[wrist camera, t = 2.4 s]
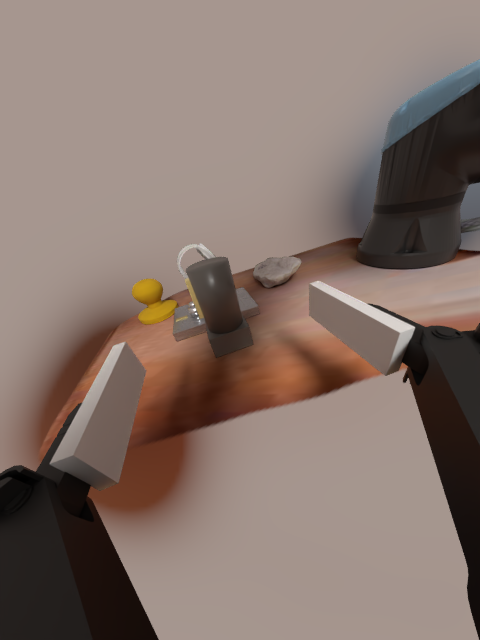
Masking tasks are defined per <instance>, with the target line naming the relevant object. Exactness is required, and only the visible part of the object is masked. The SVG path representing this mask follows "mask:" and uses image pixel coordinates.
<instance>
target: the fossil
mask: <svg viewBox="0 0 480 640" xmlns="http://www.w3.org/2000/svg"><path fill="white" fill-rule="evenodd" d="M300 265H301V259H298V258H295V257H282V258H268V259H267V260H266V261H264V262H261V263H259V264H257V265H256V266H255V269H254V272H253V276H254V278H255V279H256V280H259V281H260V282H261V283H262V284H263V286H265V287H266V288H270V287H273V286H274V285H280V284H282V283H284V282H286V281H287V280H288V279H289V278H290V276H291V275H293V274H294V273H295V272H296V271H297V270H298V268H299V266H300Z"/></svg>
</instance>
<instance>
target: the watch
mask: <svg viewBox="0 0 480 640" xmlns="http://www.w3.org/2000/svg"><path fill="white" fill-rule="evenodd" d="M194 247H195V248H197V251H198V252H199V253H200V254H201V255H202V256H203V257H204V258H205V259H210V258H215V255H214V254H213V253H212V252H211V251H210V250H208V249H207V248H206V247H205V246H203V245H202V244H201V243H200V244H199V246H198V245H196V244H191V245H188V246H186V247H184V248H183V249H182V250H181V251H180V253H179V255H178V259H177V265H178V268H179V271H180V273H181V274H182V276H184V278H185V279H187V278H188V275H187V274H186V273H185V272H184V271H183V269H182V267H181V266H180V260H181V258H182V256H183V254H184V253H185V252H186V251H187V250H188V249H191V248H194Z"/></svg>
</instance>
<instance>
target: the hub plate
mask: <svg viewBox="0 0 480 640" xmlns="http://www.w3.org/2000/svg"><path fill="white" fill-rule="evenodd" d="M236 293H237V298H238V302H239V306H240V310H241V313H242V315H243V317H244V318H245V319H246V318H249V317H252V316H254V315H257V314H260V312H259V306H258V305H257V304H256V302H255V301H254V300H253V299H252V297H251V296H250V295H249V294H248V292H247V291H246V290H245V289H244V288H243V287H242V288H239V289H236ZM204 332H207V328H206V323H205V319H204V318H202V319H200V317H199V315H198V312H197V310H196V307H195V305H194V302H193V301H192V302H190V303H189V304H188V305H185V306H181V307H178V308H175V315H174V326H173V336H174V337H175V339H176V341H180V340H183V339H186V338H189V337H192V336H195V335H198V334H201V333H204Z"/></svg>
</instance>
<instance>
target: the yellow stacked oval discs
mask: <svg viewBox="0 0 480 640" xmlns="http://www.w3.org/2000/svg"><path fill="white" fill-rule="evenodd" d="M162 293H163V288H162V285H161V283H160V282H158V281H157V280H154V279H144V280H141V281H139V282H137V283H136V284H135V285H134V287H133V289H132V295H133V297H134V298H135V299H136V300H138V301H139V302H141V303H143V304H146V305H147V306H148V307H147V308H145V309H144V310H143V311H142V312H141V313H140V314H139V317H138V318H139V320H140V321H141V323H142V324H155V323H158V322H161V321H163V320H165V319H167V318H169V317H171V316H172V315H173V314H174V313H175V308H178V304H177V302H176V301H174V300H164V301H161V296H162Z"/></svg>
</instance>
